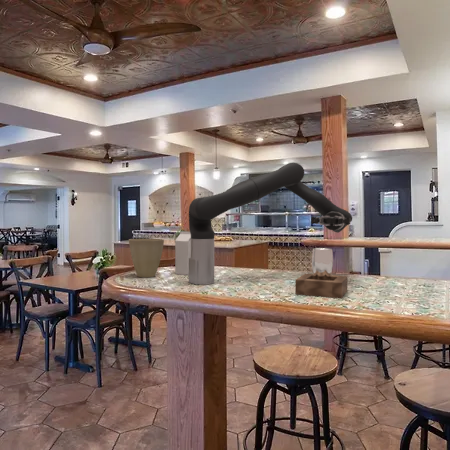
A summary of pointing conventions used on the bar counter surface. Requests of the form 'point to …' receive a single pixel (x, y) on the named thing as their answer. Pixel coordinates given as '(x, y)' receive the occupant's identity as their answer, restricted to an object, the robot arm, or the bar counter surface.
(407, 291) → the bar counter surface
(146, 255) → the plant pot
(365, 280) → the bar counter surface
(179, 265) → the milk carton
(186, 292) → the bar counter surface
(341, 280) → the walnut well block
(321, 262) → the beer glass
